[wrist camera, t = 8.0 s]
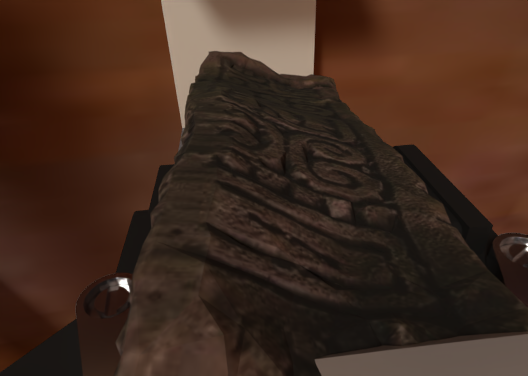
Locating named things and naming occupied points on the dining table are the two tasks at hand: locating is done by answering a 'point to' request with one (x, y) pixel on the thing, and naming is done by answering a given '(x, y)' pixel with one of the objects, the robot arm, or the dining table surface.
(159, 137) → the dining table surface
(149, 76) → the dining table surface
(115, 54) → the dining table surface
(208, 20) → the grey u-shaped block
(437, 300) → the statue
